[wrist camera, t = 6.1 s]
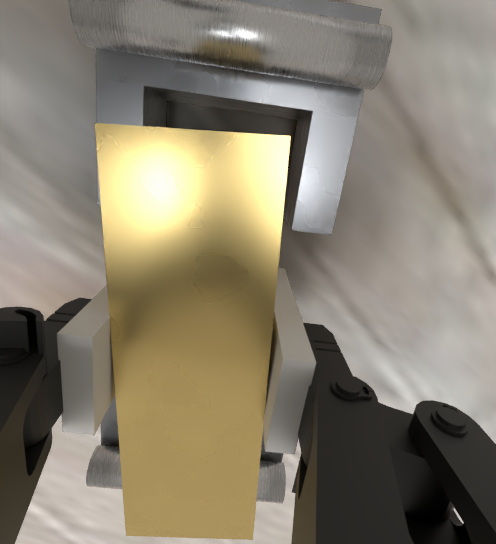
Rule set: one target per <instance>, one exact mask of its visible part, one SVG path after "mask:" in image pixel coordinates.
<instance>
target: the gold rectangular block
mask: <svg viewBox="0 0 496 544" xmlns="http://www.w3.org/2000/svg"><path fill="white" fill-rule="evenodd" d="M95 135H96V148H97V161H98V174H99V187H100V200H101V213H102V226H103V239H104V252H105V265H106V278H107V291H108V304H109V316H110V331H111V344H112V357H113V370H114V383H115V396H116V409H117V422H118V435H119V448H120V461H121V474H122V487H123V500H124V514H125V527H126V536H153V537H185V538H216V539H248V540H253V531H254V520H255V509H256V499H257V488H258V477H259V467H260V456H261V446H262V435H263V419H264V414H265V403H266V393H267V382H268V371H269V361H270V350H271V339H272V329H273V318H274V308H275V297H276V286H277V276H278V265H279V254H280V244H281V233H282V223H283V212H284V201H285V191H286V180H287V170H288V159H289V148H290V138H291V136H284V135H269V134H254V133H239V132H224V131H209V130H194V129H179V128H164V127H149V126H134V125H119V124H104V123H95Z"/></svg>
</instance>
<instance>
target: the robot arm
mask: <svg viewBox="0 0 496 544" xmlns="http://www.w3.org/2000/svg"><path fill="white" fill-rule="evenodd" d="M114 397H115V383H114V370H113V357H112V344H111V331H110V316H109V304H108V291H107V286H106V287H105V288H104V289H102V290H101V291H100V292H99V293H98V294H97V295H96V296H95V297H94V298H93V299H85V298H78V299H75V300H73V301H70V302H68V303H66V304H64V305H63V306H61V307H60V308H59V309H58V310H57V311H55V314H52V315H51V316H50V317H48V318H47V320H46V321H44V318H43V315H42V314H41V312H40V311H38V310H35V309H32V308H26V307H5V308H0V544H15V541H16V539H17V536H18V533H19V531H20V528H21V525H22V523H23V520H24V517H25V515H26V512H27V509H28V507H29V504H30V501H31V499H32V496H33V494H34V491H35V488H36V486H37V483H38V480H39V478H40V475H41V472H42V470H43V467H44V464H45V462H46V459H47V456H48V454H49V451H50V448H51V445H52V427H53V425H54V424H55V422H56V421H57V419H58V418H59V417H60V415H61V414H62V429H63V432H69V433H79V434H90V435H95V433H96V431H97V429H98V427H99V425H100V423H101V421H102V420H103V418H104V416H105V414H106V412H107V410H108V408H109V406H110V404H111V403H112V401H113V399H114ZM263 429H264V445H265V451H266V452H276V453H286V454H295V451H296V447H297V442H298V438H299V442H300V447H301V457H300V461H299V465H298V469H297V473H296V477H295V481H294V486H293V490H292V492H293V493H296V495H295V507H294V520H293V533H292V544H496V444H495V443H494V442H493V441H492V440H491V438H490V437H489V436H488V435H487V434H486V433H485V432H484V431H483V429H482V428H481V427H480V426H479V425H478V424H477V423H476V422H475V421H474V420H473V419H471V418H470V417H469V416H468V415H466V414H465V413H463V412H462V411H460V410H459V409H457V408H455V407H453V406H450V405H448V404H445V403H441V402H437V401H422V402H420V403H419V404H417V405H416V408H415V411H414V413H413V414H410V413H406V412H403V411H400V410H397V409H394V408H391V407H388V406H386V405H383V404H381V403H379V402H378V399H377V396H376V394H375V392H374V390H373V389H372V388H371V387H370V386H369V385H367V384H366V383H365V382H363V381H362V380H360V379H358V378H357V377H354V376H352V373H351V371H350V369H349V367H348V365H347V363H346V361H345V359H344V357H343V355H342V353H341V350H340V348H339V346H338V345H337V342H336V340H335V338H334V336H333V334H332V333H331V332H330V331H329V330H328V329H326V328H325V327H324V326H323V325H317V324H309V323H303V322H302V319H301V316H300V313H299V310H298V307H297V304H296V301H295V298H294V295H293V292H292V289H291V286H290V283H289V280H288V277H287V274H286V271H285V268H278V276H277V286H276V297H275V308H274V318H273V329H272V339H271V350H270V361H269V371H268V382H267V393H266V403H265V414H264V419H263ZM454 507H455V509H456V511H457V512H458V514H459V515H460V517H461V519H462V520H463V522H464V524H462V522H461V521H460V520H459V519H458V517H457V515H456V514H455V512H454V510H453V509H454Z"/></svg>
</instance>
